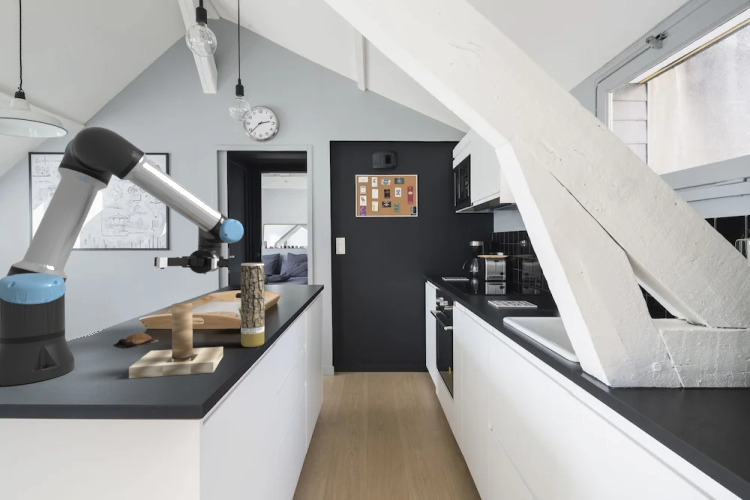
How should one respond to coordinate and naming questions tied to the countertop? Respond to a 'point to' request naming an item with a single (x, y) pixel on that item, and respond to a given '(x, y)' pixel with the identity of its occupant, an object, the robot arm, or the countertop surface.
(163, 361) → the board
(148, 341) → the brown beetle
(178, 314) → the peg
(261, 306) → the paper tube
